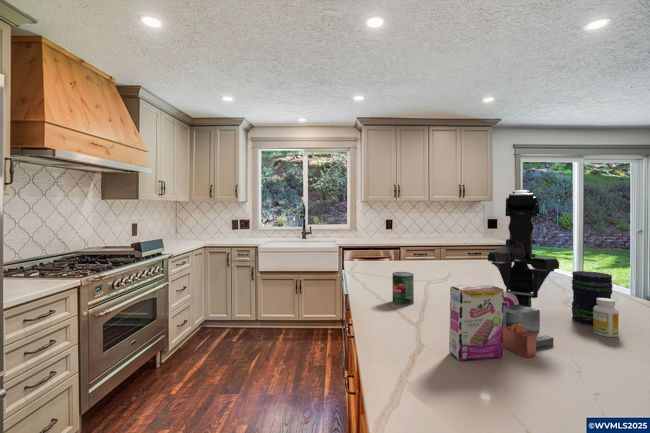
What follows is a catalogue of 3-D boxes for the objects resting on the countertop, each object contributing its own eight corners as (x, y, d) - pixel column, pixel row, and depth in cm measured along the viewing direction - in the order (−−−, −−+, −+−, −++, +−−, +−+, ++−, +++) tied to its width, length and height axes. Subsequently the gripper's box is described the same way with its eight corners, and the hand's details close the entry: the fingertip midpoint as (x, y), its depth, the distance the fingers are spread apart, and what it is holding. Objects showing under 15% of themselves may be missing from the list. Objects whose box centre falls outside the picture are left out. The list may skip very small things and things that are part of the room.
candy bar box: (460, 362, 75) (460, 290, 75) (448, 353, 80) (448, 285, 80) (504, 358, 77) (504, 288, 77) (490, 349, 82) (490, 283, 82)
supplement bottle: (612, 331, 94) (612, 297, 94) (622, 338, 89) (622, 302, 89) (589, 329, 96) (590, 296, 96) (598, 336, 91) (598, 300, 91)
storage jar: (606, 319, 105) (606, 272, 105) (617, 329, 97) (618, 278, 96) (568, 315, 110) (568, 270, 110) (575, 324, 101) (576, 275, 101)
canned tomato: (416, 301, 127) (416, 273, 127) (409, 306, 120) (409, 276, 120) (396, 298, 131) (396, 271, 131) (389, 303, 124) (389, 274, 124)
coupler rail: (536, 339, 89) (536, 314, 88) (563, 349, 82) (563, 322, 82) (500, 347, 84) (500, 320, 84) (526, 358, 77) (526, 329, 77)
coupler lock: (519, 323, 101) (519, 304, 101) (540, 330, 95) (540, 309, 95) (502, 326, 99) (502, 306, 99) (522, 334, 93) (522, 312, 93)
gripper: (474, 234, 102) (474, 285, 103) (531, 239, 85) (531, 299, 85) (500, 233, 107) (500, 282, 107) (560, 238, 89) (560, 295, 89)
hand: (520, 289), depth 97 cm, fingers open, 9 cm apart
